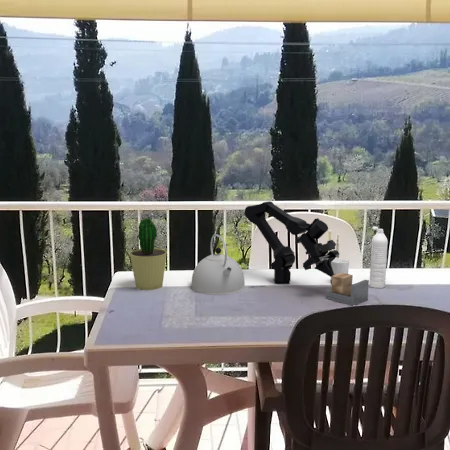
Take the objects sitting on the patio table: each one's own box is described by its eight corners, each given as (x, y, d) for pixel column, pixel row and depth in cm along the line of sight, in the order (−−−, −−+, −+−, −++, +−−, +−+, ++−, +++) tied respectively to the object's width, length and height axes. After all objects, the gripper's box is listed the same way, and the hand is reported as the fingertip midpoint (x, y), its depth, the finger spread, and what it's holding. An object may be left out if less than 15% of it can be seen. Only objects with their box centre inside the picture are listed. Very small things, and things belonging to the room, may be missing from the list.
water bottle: (387, 287, 234) (391, 229, 229) (374, 288, 232) (377, 230, 227) (377, 281, 242) (380, 226, 237) (363, 283, 240) (366, 226, 235)
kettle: (255, 293, 226) (256, 239, 222) (203, 299, 218) (203, 243, 214) (232, 277, 249) (233, 228, 245) (184, 282, 241) (184, 231, 237)
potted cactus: (165, 291, 227) (163, 220, 221) (127, 291, 227) (125, 219, 222) (169, 281, 242) (168, 213, 236) (134, 280, 242) (132, 213, 237)
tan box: (328, 294, 220) (329, 275, 219) (338, 290, 225) (339, 272, 224) (342, 298, 216) (343, 278, 214) (351, 294, 221) (352, 275, 219)
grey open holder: (325, 298, 219) (326, 279, 218) (339, 292, 227) (340, 273, 225) (353, 305, 211) (354, 285, 209) (367, 299, 218) (368, 280, 216)
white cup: (343, 286, 235) (344, 263, 233) (326, 283, 240) (327, 260, 238) (351, 282, 241) (352, 260, 239) (334, 279, 246) (335, 257, 244)
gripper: (309, 237, 216) (332, 270, 210) (336, 230, 229) (358, 261, 223) (293, 253, 223) (315, 285, 217) (319, 246, 236) (341, 276, 230)
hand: (333, 276), depth 222 cm, fingers closed
